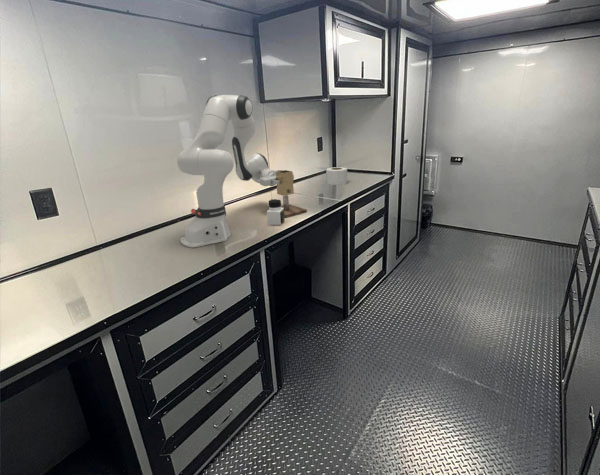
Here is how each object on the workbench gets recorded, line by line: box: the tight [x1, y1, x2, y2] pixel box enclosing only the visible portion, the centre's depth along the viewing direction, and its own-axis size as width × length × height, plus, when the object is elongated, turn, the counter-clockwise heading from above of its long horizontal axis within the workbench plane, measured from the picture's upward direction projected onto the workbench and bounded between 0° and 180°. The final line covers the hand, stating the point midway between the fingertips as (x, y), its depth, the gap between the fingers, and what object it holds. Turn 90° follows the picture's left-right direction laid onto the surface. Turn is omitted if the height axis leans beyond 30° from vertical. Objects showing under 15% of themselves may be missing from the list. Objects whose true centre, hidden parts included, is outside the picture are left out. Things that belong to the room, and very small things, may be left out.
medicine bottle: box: [266, 198, 286, 226], centre depth 171 cm, size 7×7×12 cm
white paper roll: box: [325, 166, 348, 186], centre depth 256 cm, size 16×15×11 cm
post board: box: [265, 195, 308, 219], centre depth 188 cm, size 16×16×10 cm
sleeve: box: [276, 169, 295, 197], centre depth 184 cm, size 6×8×12 cm
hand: (285, 181), depth 183 cm, fingers closed on sleeve, 6 cm apart
